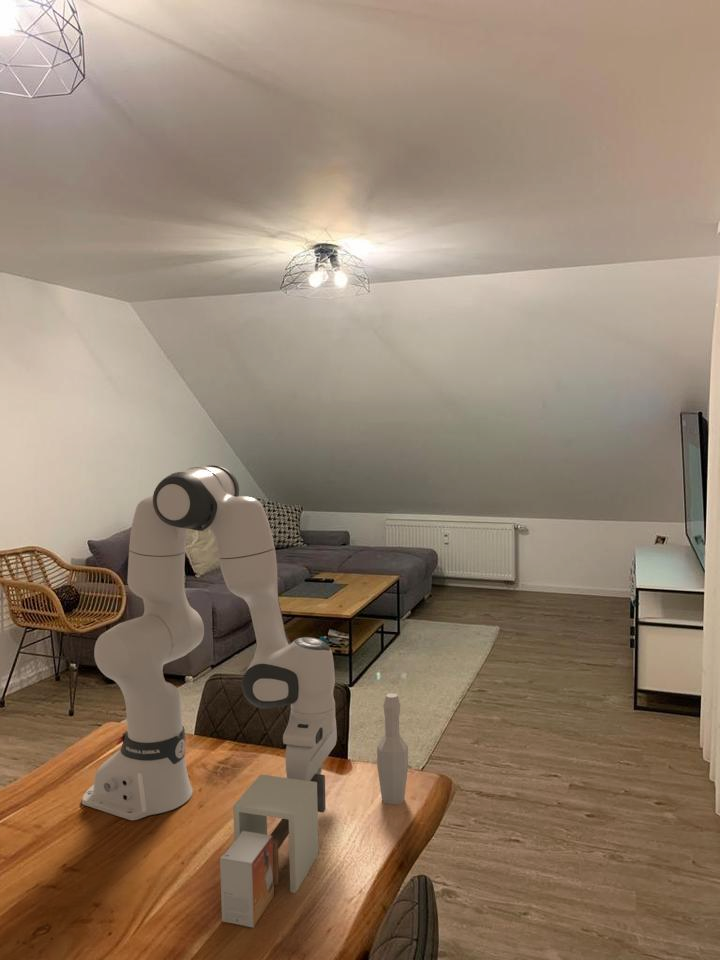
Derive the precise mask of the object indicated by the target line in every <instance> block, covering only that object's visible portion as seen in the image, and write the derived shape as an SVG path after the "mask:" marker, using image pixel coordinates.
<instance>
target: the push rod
mask: <svg viewBox="0 0 720 960" xmlns="http://www.w3.org/2000/svg"><path fill="white" fill-rule="evenodd" d="M311 781H313V782H317V806H318V813H322V814H323V813H324V812H325V811H326V807H327V806H326V775H325V774H321V775H320V774H315V775H314V776H313V778H312V779H311ZM270 835H271V836H272V841H273V886H277V885H278V884H279V882H280V873H279V872H280V869H279V866H280V865H279V849H280V848H281V846H282V844H283V843H284V842H285V840H286V839H287V837H289V820H288V819H282V818H281V820H280V821H279V823H278V824H277V825H276V827H274V829H273V831H272V832H271V833H270Z"/></svg>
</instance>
